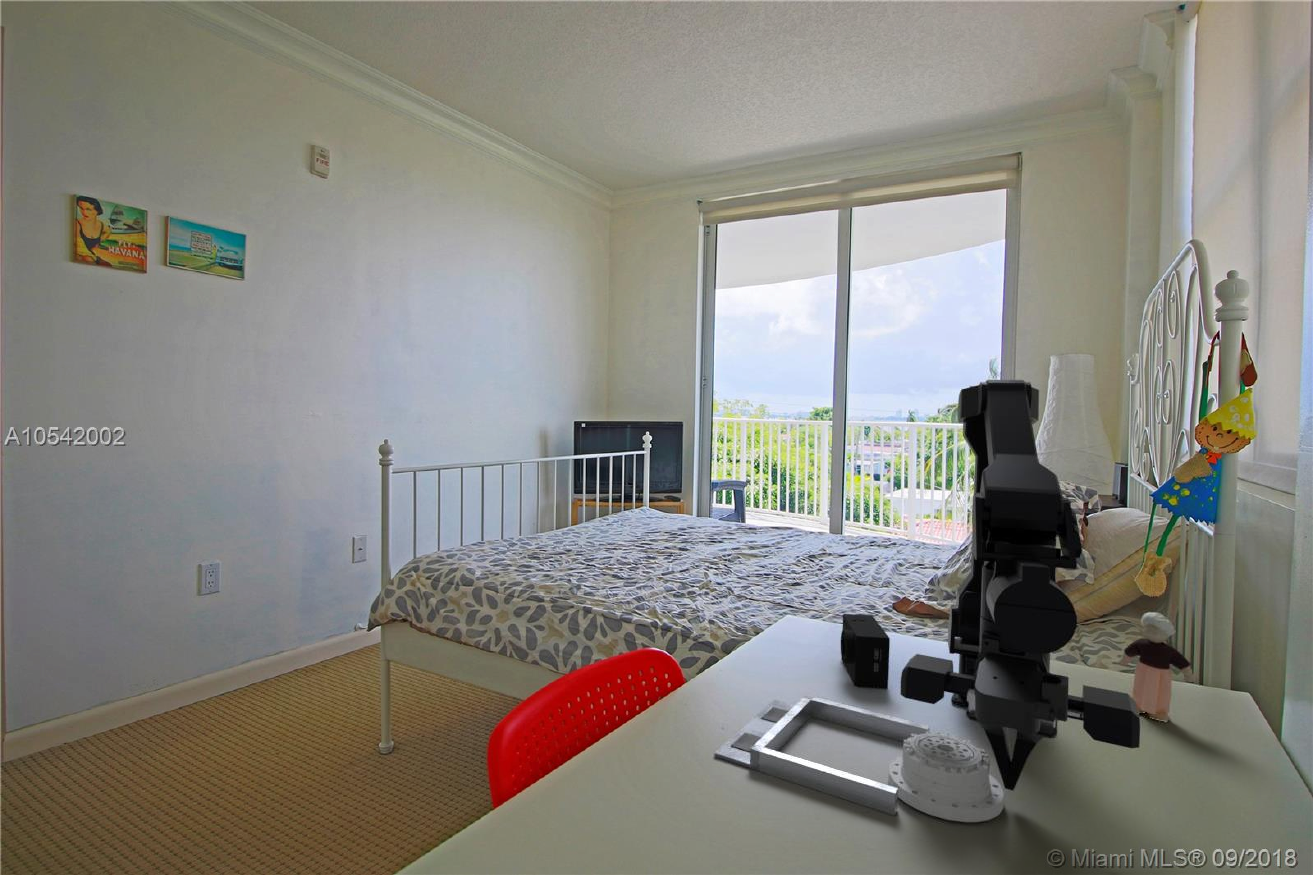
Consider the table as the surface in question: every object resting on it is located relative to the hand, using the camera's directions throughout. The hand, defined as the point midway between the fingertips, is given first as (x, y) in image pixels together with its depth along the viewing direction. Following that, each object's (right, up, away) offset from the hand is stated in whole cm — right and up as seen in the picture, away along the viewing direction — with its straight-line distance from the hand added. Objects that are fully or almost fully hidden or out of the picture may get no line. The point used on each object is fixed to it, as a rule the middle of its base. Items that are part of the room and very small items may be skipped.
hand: (1009, 788), depth 62 cm
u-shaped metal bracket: (-15, -1, +9) cm, 17 cm away
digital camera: (-4, -1, +32) cm, 32 cm away
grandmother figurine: (+28, -2, +20) cm, 35 cm away
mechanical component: (-5, -2, +2) cm, 6 cm away
